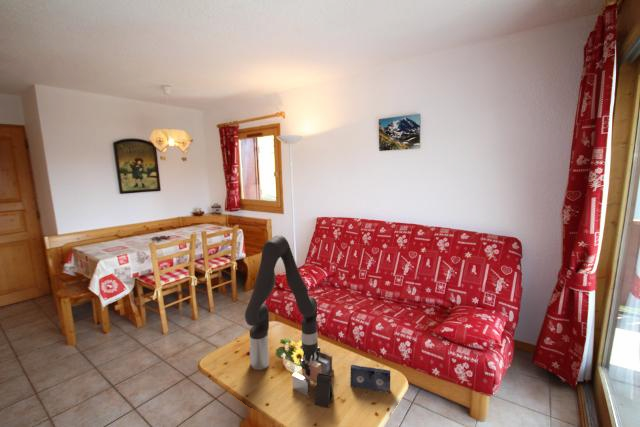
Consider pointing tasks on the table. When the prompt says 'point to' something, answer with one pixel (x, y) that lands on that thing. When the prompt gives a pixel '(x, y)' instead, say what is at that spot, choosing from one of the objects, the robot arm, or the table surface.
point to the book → (313, 371)
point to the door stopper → (323, 390)
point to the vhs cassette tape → (370, 378)
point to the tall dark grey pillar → (323, 369)
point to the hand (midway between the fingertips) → (310, 372)
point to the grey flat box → (301, 384)
